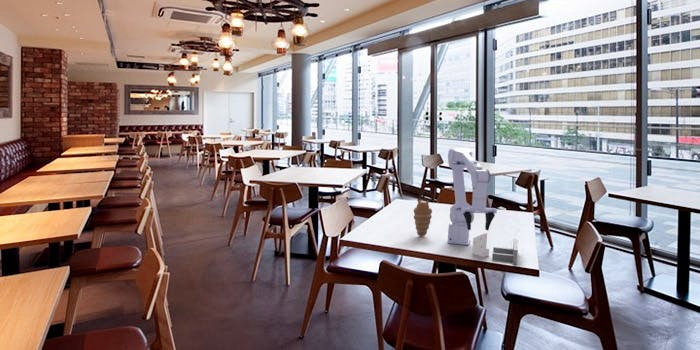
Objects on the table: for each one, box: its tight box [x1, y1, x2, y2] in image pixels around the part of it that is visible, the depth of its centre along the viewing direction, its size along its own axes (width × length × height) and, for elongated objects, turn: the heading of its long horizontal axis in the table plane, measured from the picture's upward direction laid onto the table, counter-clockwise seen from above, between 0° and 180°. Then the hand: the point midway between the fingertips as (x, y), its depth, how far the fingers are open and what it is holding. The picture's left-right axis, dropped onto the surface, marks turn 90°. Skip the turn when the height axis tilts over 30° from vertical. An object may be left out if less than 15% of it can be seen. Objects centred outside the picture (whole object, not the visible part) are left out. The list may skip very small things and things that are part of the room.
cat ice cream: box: [413, 199, 433, 237], centre depth 225 cm, size 9×8×18 cm
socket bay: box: [491, 238, 519, 266], centre depth 194 cm, size 10×18×6 cm, turn 161°
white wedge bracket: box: [471, 232, 490, 257], centre depth 197 cm, size 4×10×9 cm, turn 33°
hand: (478, 229), depth 196 cm, fingers open, 7 cm apart
